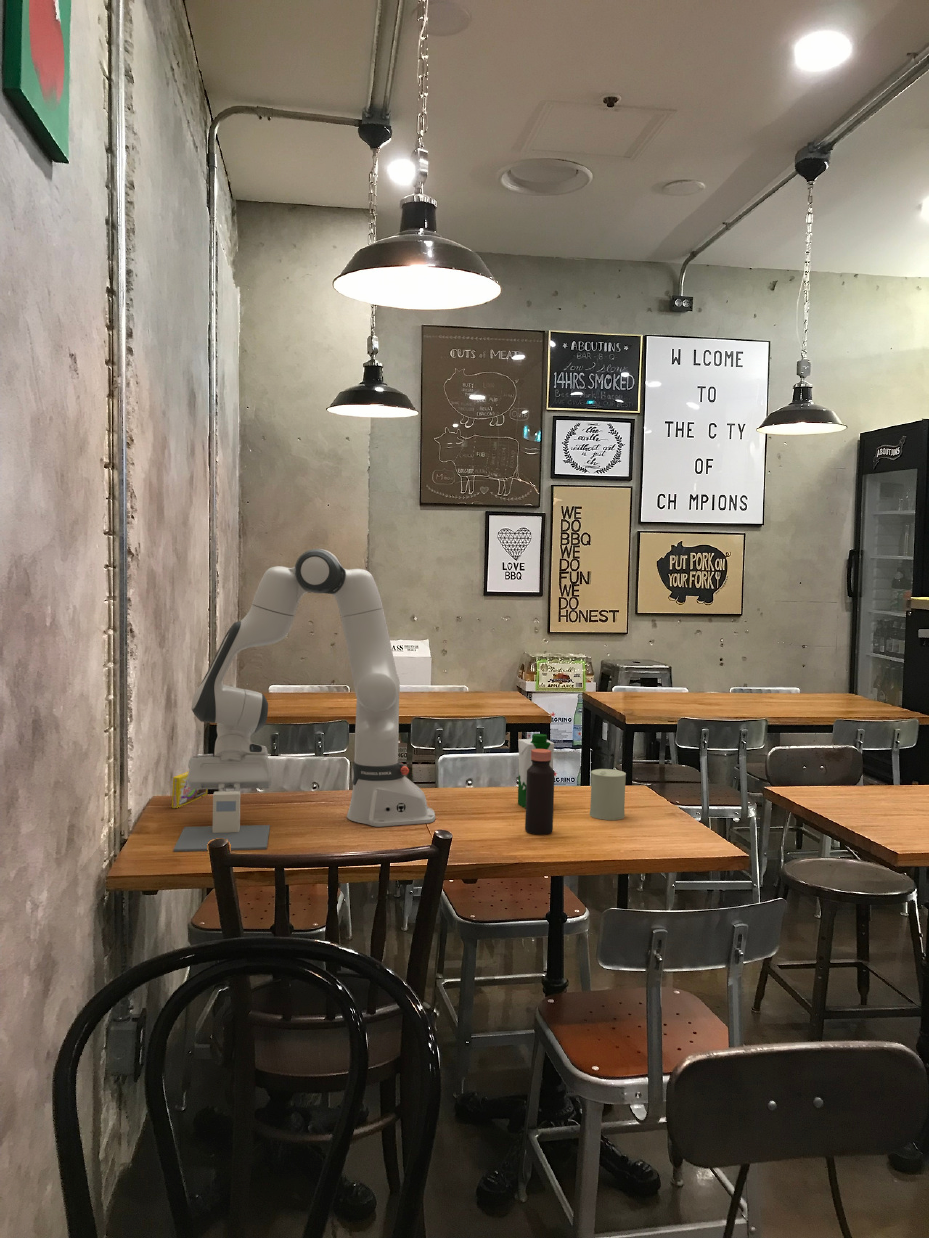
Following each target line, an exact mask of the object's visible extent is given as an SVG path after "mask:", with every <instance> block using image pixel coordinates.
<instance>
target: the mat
mask: <svg viewBox="0 0 929 1238" xmlns="http://www.w3.org/2000/svg"><path fill="white" fill-rule="evenodd" d="M270 830H271V824H267V825H266V824H264V825H263V824H261V825H260V824H256V825H254V824H253V825H252V824H251V825H249V824H248V825H240V830H239V832H221V833H213V825H212V826H211V825H206V826H205V825H203V826H202V825H201V826H184V827H183V829H182V831H181V834H180V835H179V837H178V838H177V839H178V840H177V841H176V843H175V845H174V847H173V851H172V852H174V853H176V852H179V851H182V852H208V851H207V844H208V842H209V841H210V840H212V839H216V838H224V839H228V841H229V842H230V844H231V850H230V851H247V850H248V851H253V850H256V849H257V850H268V849H267V848H268V843H269V837H270V836H269V835H270Z"/></svg>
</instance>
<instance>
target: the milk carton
mask: <svg viewBox="0 0 929 1238" xmlns="http://www.w3.org/2000/svg"><path fill="white" fill-rule="evenodd" d="M531 735H532V736H531V738H523V739H522V738H521V739H520V738H519V739H518V740H517V741H518V778H517V779H518V781H517V782H518V783H517V788H518V789H517V805H519V806H521V807H522V808H523V809H525V810H526V781H527V770H528V768H529V767H530V766H531V765H532V761H531V760H532V759H531V750H533V749H547V750H550V751H551V760H550V761H551V762H550V767H551V768H552V769H553V770H554V767H553V766H554V765H553V764H554V753H555V752H554V751H555V742H553V741H551V740H549V739H548V735H547V734H544V733H533V734H531Z"/></svg>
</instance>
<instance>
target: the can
mask: <svg viewBox="0 0 929 1238" xmlns="http://www.w3.org/2000/svg"><path fill="white" fill-rule="evenodd" d="M590 775H591V776H590V778H591V779H590V783H591V784H590V786H591V787H590V810H589V816H590V818H591V817H592V818H593V819H595V820H600V821H619V820H623V819H624V818H625V817H626V815H625V800H626V799H625V798H626V777H627V773H626V772H624V771H622V770H619V769H609V768H598V769H593V770H591V773H590Z"/></svg>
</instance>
